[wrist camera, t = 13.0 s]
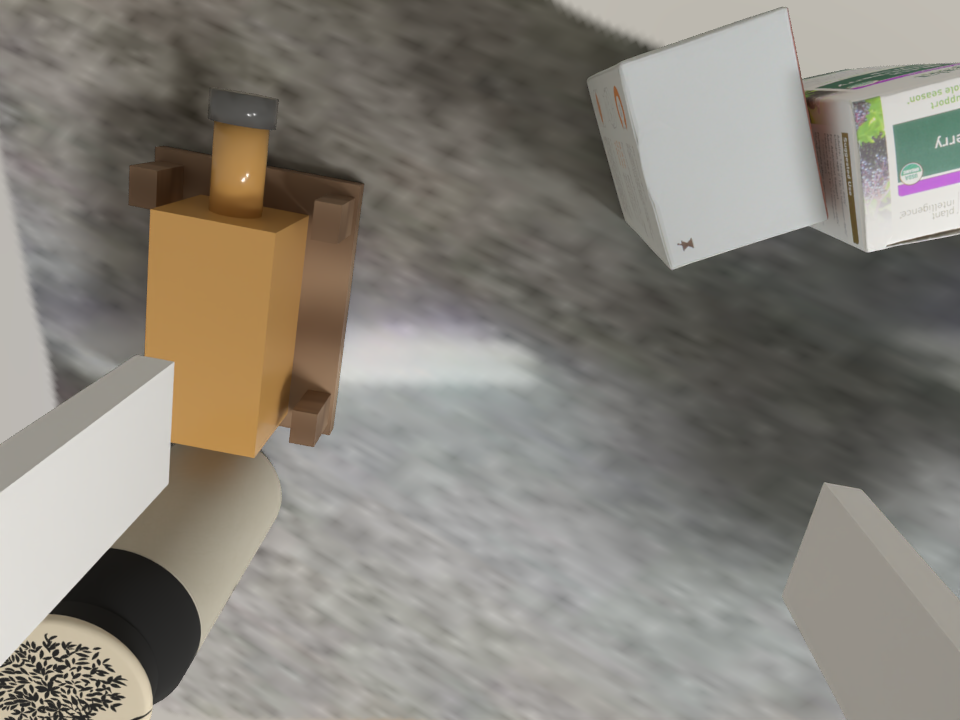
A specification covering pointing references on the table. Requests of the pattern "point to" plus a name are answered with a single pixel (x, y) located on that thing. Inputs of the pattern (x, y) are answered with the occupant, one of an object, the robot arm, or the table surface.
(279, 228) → the amber bottle
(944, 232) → the syrup box
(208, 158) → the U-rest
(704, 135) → the small box
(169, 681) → the travel mug
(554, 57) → the table surface
